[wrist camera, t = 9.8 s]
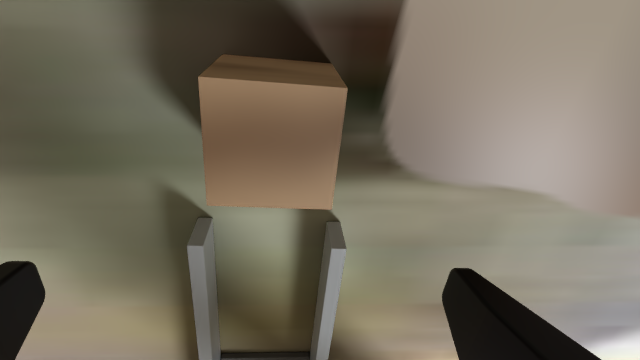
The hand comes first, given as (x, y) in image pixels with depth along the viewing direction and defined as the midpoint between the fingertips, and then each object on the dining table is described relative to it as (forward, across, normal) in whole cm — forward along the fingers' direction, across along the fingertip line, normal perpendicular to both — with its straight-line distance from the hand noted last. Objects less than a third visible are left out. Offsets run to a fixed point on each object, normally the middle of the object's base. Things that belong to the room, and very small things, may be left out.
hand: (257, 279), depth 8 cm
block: (+11, 0, 0) cm, 11 cm away
